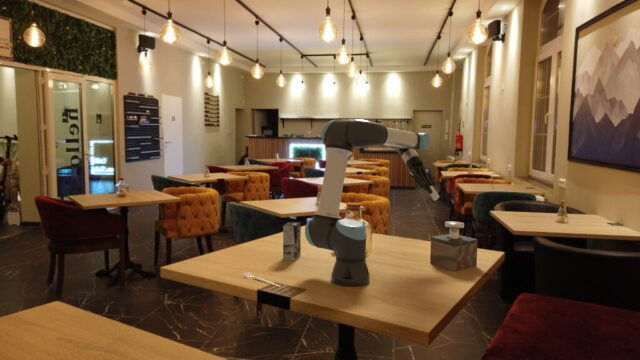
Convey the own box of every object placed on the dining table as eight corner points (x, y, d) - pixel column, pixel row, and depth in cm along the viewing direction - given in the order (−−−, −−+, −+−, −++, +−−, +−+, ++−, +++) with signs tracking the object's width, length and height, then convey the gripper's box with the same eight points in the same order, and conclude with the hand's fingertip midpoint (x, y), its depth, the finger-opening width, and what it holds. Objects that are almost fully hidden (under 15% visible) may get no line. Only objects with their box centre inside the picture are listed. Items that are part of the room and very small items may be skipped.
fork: (277, 289, 170) (277, 284, 170) (242, 277, 183) (242, 272, 183) (283, 287, 173) (283, 282, 173) (248, 275, 186) (249, 271, 185)
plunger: (454, 254, 196) (455, 225, 195) (440, 250, 203) (441, 222, 201) (466, 252, 200) (468, 223, 199) (453, 248, 207) (454, 220, 206)
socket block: (454, 271, 192) (455, 243, 191) (430, 262, 204) (431, 236, 203) (476, 266, 200) (477, 239, 198) (452, 258, 212) (453, 233, 210)
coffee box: (296, 261, 206) (296, 226, 204) (282, 260, 207) (282, 225, 205) (301, 255, 215) (301, 222, 213) (288, 255, 216) (288, 221, 214)
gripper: (418, 165, 228) (442, 202, 216) (398, 165, 221) (422, 204, 209) (426, 154, 223) (451, 192, 211) (406, 155, 216) (430, 194, 204)
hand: (436, 198), depth 210 cm, fingers closed
